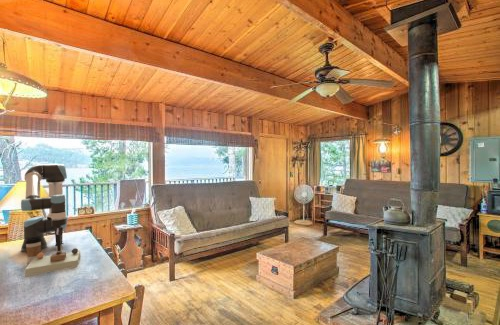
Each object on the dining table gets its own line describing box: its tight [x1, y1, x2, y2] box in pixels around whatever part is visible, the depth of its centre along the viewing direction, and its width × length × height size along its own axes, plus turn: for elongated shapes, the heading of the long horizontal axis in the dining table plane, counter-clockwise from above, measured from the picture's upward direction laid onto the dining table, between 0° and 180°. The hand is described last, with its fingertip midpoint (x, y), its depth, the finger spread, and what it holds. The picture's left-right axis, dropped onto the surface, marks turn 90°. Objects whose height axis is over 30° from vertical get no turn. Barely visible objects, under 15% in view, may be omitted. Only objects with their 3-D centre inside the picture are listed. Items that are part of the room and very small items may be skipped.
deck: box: [24, 250, 81, 277], centre depth 164 cm, size 20×25×4 cm
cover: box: [50, 251, 67, 262], centre depth 163 cm, size 7×7×4 cm
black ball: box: [71, 247, 79, 254], centre depth 173 cm, size 4×4×4 cm
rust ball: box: [37, 252, 45, 258], centre depth 166 cm, size 4×4×4 cm
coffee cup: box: [25, 237, 42, 263], centre depth 173 cm, size 8×8×15 cm
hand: (59, 255), depth 167 cm, fingers closed
